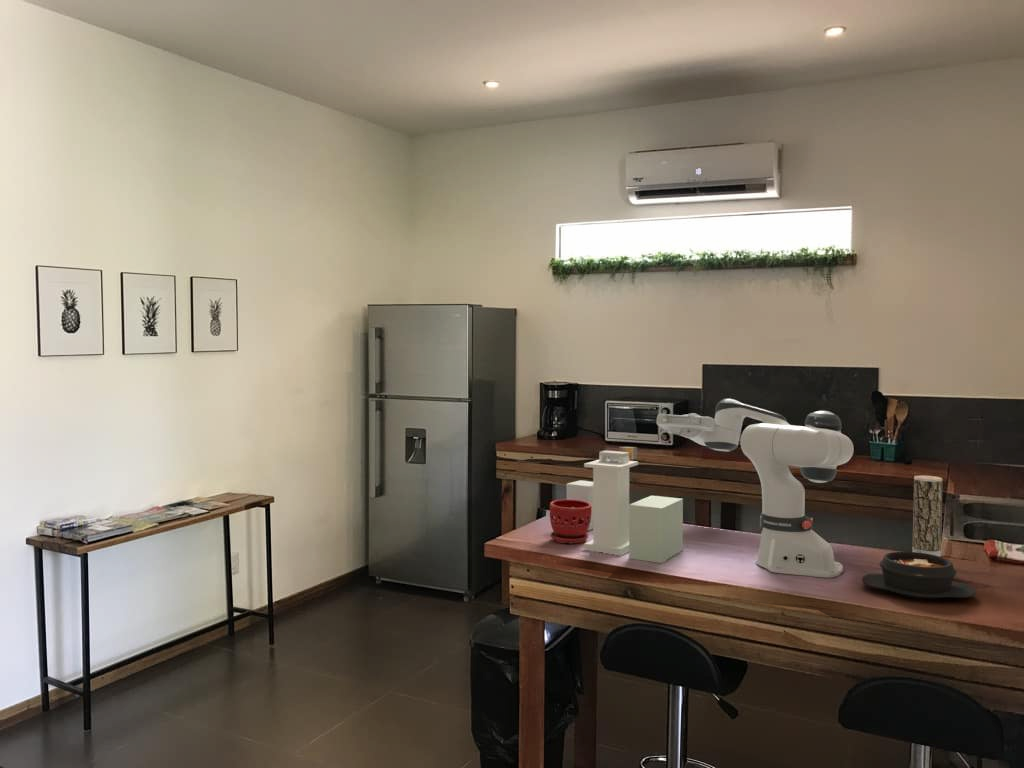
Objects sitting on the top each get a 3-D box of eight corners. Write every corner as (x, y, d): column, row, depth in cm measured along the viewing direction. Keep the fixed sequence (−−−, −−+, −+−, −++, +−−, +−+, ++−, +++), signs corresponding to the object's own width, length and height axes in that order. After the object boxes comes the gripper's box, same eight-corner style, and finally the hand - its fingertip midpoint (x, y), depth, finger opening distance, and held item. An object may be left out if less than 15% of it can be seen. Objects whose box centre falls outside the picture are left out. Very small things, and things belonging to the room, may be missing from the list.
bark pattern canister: (925, 573, 211) (927, 480, 210) (906, 566, 217) (908, 476, 216) (946, 571, 213) (948, 479, 211) (926, 564, 219) (928, 475, 218)
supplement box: (603, 526, 268) (603, 482, 267) (588, 531, 261) (588, 486, 260) (581, 522, 273) (580, 479, 272) (565, 527, 266) (565, 483, 266)
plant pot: (553, 546, 241) (553, 507, 240) (546, 536, 254) (546, 499, 253) (595, 545, 243) (595, 506, 242) (586, 535, 256) (586, 498, 255)
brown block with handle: (637, 458, 248) (637, 447, 248) (617, 462, 236) (618, 450, 236) (624, 457, 250) (624, 446, 250) (605, 461, 238) (605, 449, 238)
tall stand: (637, 546, 240) (638, 451, 239) (621, 555, 230) (621, 456, 229) (602, 541, 247) (602, 449, 245) (584, 550, 237) (584, 453, 235)
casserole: (860, 597, 192) (861, 563, 191) (861, 576, 209) (862, 545, 208) (980, 611, 182) (981, 575, 181) (970, 588, 198) (971, 555, 198)
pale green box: (682, 550, 236) (682, 498, 235) (661, 563, 222) (662, 508, 222) (651, 546, 241) (651, 495, 240) (629, 558, 228) (629, 504, 227)
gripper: (720, 437, 270) (704, 427, 259) (665, 433, 282) (648, 424, 272) (722, 419, 271) (707, 409, 261) (668, 416, 284) (651, 406, 273)
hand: (676, 416), depth 266 cm, fingers open, 8 cm apart
